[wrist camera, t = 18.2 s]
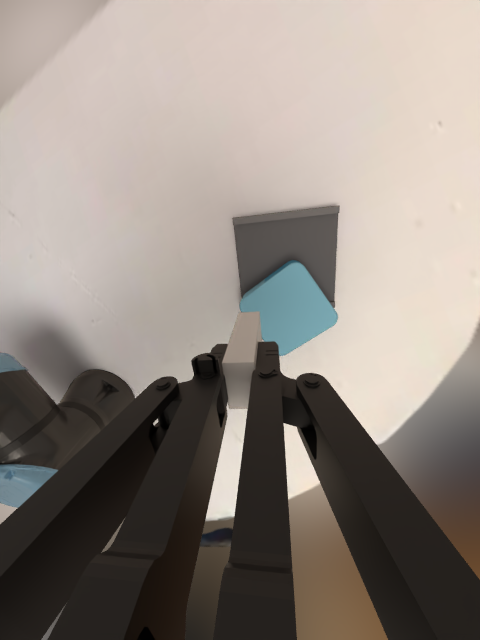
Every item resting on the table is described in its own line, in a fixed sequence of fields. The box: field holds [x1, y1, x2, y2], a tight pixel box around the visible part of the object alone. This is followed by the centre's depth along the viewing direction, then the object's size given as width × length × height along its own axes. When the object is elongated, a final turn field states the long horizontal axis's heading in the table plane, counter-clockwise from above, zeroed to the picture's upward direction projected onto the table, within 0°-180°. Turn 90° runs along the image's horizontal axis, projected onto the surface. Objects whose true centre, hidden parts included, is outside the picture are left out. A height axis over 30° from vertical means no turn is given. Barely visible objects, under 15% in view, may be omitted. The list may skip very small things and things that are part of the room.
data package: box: [239, 260, 338, 356], centre depth 40 cm, size 12×4×12 cm
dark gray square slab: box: [233, 206, 339, 308], centre depth 40 cm, size 16×16×2 cm
